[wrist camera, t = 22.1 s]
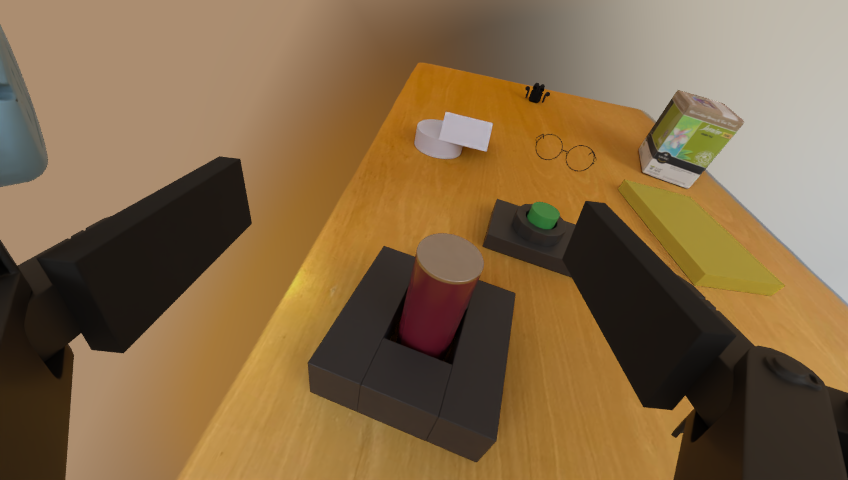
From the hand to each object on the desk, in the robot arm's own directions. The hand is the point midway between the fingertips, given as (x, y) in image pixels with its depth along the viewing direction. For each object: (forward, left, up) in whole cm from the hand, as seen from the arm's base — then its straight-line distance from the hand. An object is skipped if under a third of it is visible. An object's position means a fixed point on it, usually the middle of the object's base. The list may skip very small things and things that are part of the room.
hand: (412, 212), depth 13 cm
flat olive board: (+36, +44, -20) cm, 60 cm away
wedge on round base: (-6, +48, -20) cm, 53 cm away
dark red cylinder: (+2, +6, -19) cm, 21 cm away
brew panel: (+11, +28, -19) cm, 36 cm away
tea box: (+39, +72, -20) cm, 84 cm away
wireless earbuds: (+8, +96, -20) cm, 99 cm away
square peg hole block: (+2, +6, -19) cm, 21 cm away
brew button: (+11, +28, -16) cm, 34 cm away
